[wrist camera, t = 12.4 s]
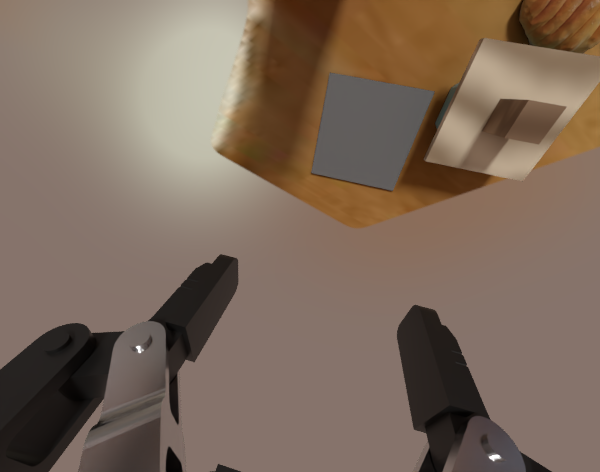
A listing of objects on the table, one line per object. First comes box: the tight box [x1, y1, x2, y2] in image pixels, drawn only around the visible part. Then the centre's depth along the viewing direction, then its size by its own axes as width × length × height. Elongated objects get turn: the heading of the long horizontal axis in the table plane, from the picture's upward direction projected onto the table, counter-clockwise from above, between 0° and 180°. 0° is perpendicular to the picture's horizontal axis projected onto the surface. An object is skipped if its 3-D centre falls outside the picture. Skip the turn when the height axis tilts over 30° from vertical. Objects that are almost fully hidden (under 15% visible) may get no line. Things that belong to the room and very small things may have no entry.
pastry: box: [519, 0, 600, 54], centre depth 24 cm, size 9×7×4 cm
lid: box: [424, 38, 600, 181], centre depth 25 cm, size 13×13×6 cm
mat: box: [311, 73, 434, 191], centre depth 36 cm, size 15×15×1 cm
